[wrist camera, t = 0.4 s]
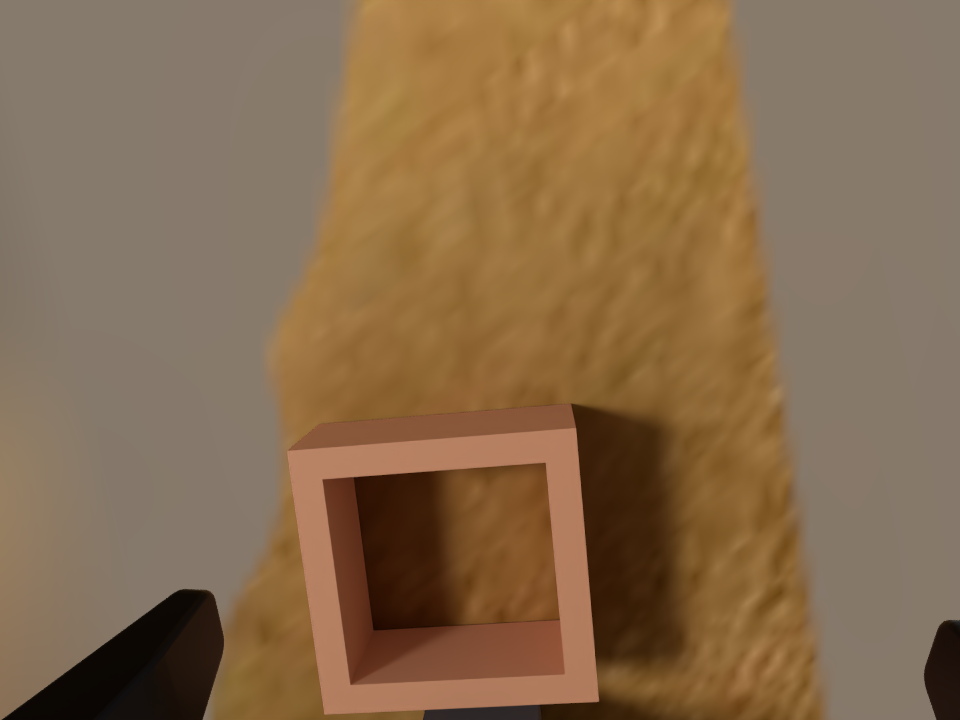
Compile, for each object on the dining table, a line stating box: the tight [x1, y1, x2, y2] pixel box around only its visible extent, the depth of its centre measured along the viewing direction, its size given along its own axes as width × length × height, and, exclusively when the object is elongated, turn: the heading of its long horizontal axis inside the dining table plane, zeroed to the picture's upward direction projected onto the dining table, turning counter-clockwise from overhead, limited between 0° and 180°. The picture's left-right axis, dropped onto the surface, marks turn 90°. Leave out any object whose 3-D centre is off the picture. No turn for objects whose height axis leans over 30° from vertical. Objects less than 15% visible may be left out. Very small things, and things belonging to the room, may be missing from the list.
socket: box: [287, 404, 599, 714], centre depth 25 cm, size 9×9×4 cm
